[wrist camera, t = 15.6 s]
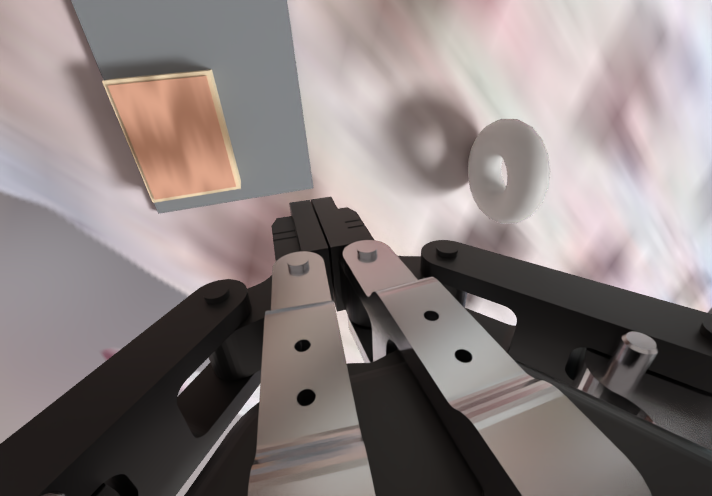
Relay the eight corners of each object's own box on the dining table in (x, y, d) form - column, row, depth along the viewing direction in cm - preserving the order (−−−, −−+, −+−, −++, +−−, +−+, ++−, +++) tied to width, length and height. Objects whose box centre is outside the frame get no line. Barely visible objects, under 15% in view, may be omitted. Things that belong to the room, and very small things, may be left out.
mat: (54, -50, 21) (49, -52, 21) (278, -54, 24) (278, -57, 24) (159, 211, 31) (158, 213, 30) (312, 186, 33) (313, 188, 33)
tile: (211, 69, 26) (111, 78, 25) (209, 70, 24) (100, 81, 23) (240, 181, 31) (158, 194, 29) (240, 189, 29) (152, 203, 28)
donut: (464, 113, 34) (535, 133, 26) (495, 108, 35) (573, 126, 26) (457, 204, 39) (514, 245, 31) (483, 198, 40) (546, 238, 32)
